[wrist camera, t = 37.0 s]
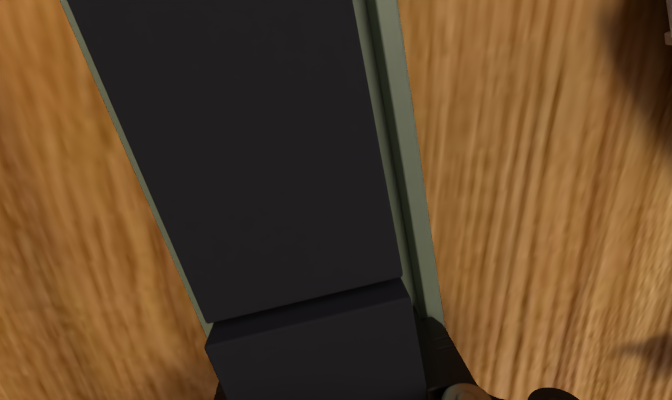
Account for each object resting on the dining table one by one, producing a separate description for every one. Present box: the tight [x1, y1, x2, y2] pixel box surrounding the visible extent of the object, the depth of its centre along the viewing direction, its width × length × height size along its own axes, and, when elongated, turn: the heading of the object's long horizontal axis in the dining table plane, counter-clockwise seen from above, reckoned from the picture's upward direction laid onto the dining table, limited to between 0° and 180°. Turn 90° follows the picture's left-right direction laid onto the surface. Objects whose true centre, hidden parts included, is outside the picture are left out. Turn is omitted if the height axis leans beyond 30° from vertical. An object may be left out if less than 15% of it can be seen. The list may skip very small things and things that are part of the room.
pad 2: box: [205, 277, 428, 400], centre depth 11 cm, size 5×8×4 cm, turn 13°
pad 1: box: [67, 0, 403, 324], centre depth 9 cm, size 5×8×4 cm, turn 13°
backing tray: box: [60, 0, 445, 339], centre depth 12 cm, size 8×18×2 cm, turn 13°
